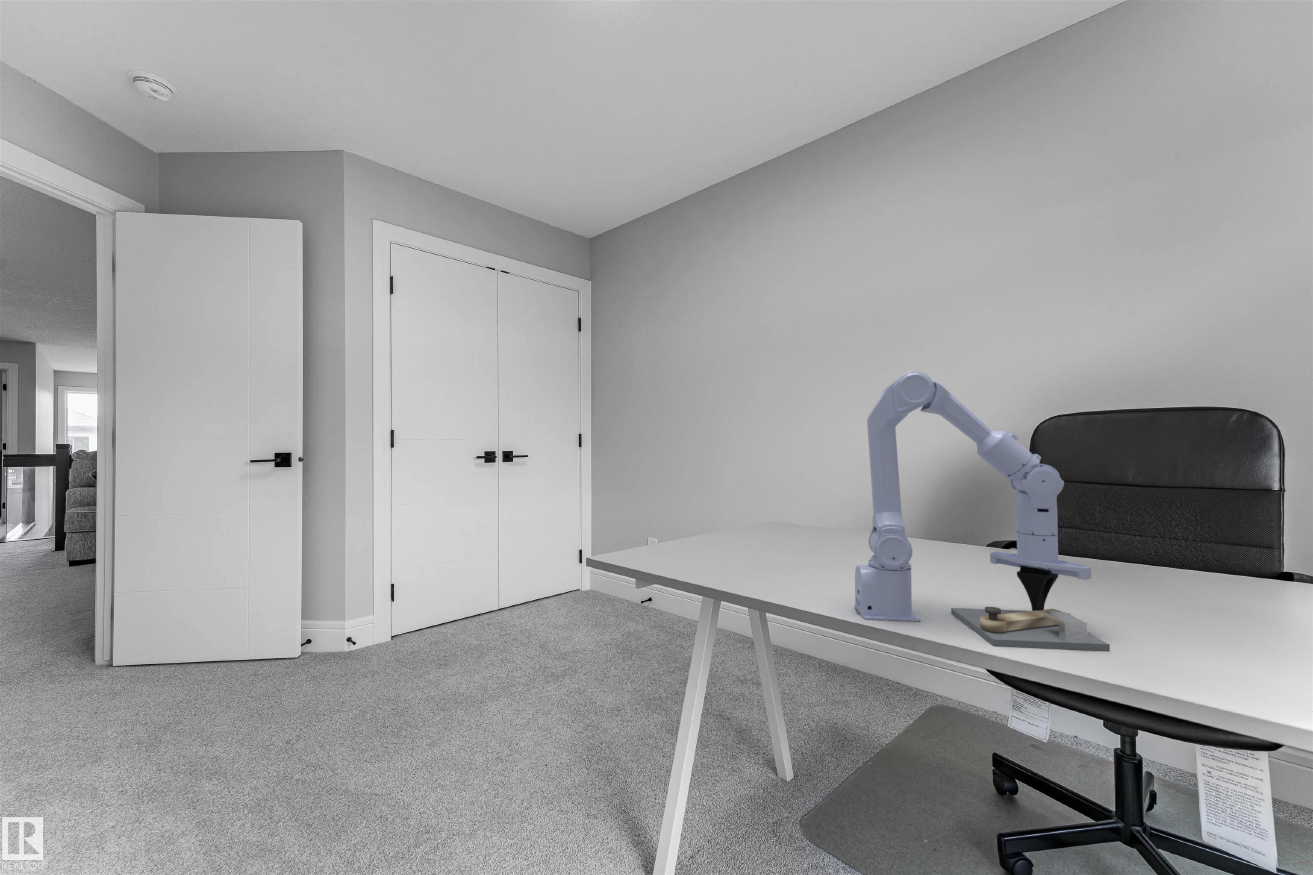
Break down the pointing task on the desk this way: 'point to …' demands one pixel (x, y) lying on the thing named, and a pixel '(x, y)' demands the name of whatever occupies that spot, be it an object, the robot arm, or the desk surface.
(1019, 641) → the base plate
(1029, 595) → the robot arm
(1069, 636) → the keeper
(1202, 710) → the desk surface
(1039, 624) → the tan latch lever
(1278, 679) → the desk surface
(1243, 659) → the desk surface
